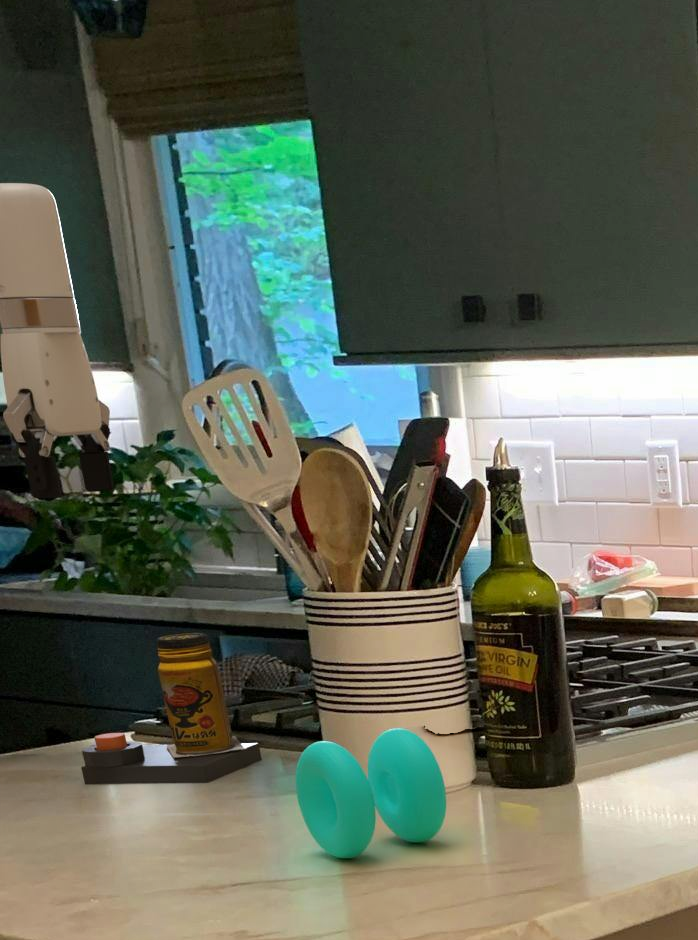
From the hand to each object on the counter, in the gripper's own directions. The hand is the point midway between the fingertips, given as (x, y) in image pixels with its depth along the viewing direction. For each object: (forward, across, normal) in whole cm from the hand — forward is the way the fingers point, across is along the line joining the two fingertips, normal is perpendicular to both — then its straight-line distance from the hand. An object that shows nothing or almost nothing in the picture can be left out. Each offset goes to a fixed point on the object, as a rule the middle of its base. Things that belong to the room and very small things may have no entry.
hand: (74, 494), depth 207 cm
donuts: (+27, +44, +51) cm, 73 cm away
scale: (+28, +10, +12) cm, 32 cm away
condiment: (+26, +7, +14) cm, 30 cm away
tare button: (+25, +13, +7) cm, 29 cm away
